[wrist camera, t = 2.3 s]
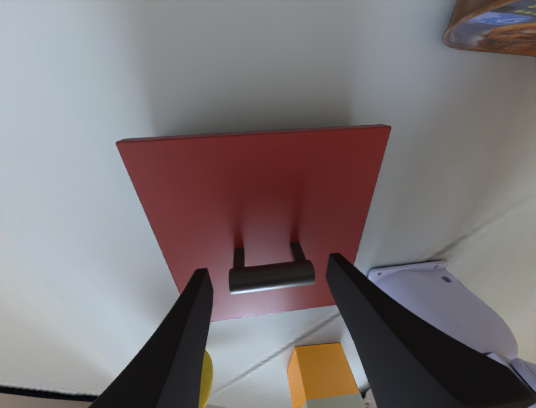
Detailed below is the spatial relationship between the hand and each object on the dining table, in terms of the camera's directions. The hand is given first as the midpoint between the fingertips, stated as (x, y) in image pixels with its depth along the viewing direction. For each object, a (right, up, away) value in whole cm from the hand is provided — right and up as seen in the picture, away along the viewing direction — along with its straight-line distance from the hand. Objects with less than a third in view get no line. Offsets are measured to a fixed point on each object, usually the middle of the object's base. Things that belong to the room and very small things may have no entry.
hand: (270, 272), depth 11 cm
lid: (0, +1, +3) cm, 3 cm away
